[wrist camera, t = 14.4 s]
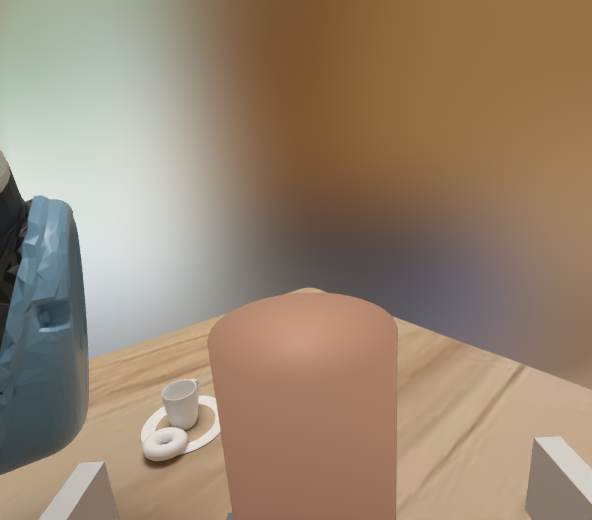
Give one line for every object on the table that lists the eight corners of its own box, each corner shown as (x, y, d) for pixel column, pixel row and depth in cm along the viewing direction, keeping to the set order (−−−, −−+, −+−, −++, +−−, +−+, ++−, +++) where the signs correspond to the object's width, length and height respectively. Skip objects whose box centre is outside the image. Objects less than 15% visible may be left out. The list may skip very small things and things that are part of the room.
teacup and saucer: (162, 483, 28) (153, 440, 27) (117, 439, 33) (108, 401, 32) (245, 419, 34) (240, 382, 33) (196, 390, 39) (191, 358, 38)
